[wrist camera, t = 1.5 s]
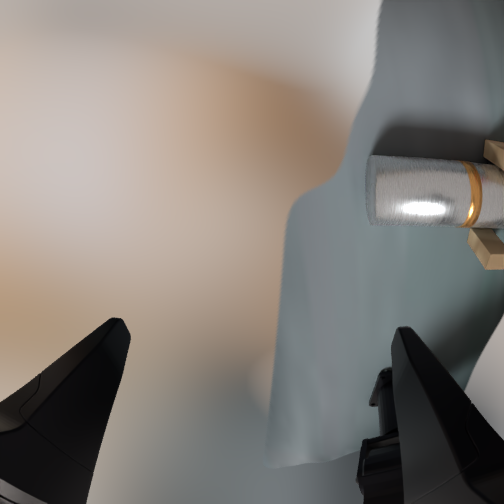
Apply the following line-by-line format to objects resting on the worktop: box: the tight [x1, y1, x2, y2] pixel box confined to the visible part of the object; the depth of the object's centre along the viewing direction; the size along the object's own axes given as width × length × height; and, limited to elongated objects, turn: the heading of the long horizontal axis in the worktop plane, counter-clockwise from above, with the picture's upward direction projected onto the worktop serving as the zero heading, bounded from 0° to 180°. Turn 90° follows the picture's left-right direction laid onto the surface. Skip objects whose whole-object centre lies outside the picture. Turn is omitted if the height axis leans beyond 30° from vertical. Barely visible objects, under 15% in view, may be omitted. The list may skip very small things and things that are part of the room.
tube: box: [365, 155, 504, 228], centre depth 16 cm, size 12×4×4 cm, turn 96°
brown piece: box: [467, 139, 504, 270], centre depth 16 cm, size 8×2×4 cm, turn 6°
